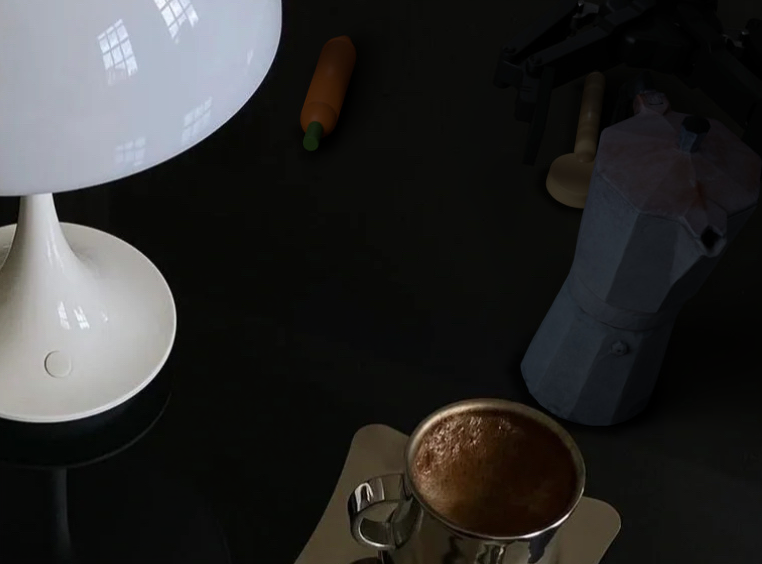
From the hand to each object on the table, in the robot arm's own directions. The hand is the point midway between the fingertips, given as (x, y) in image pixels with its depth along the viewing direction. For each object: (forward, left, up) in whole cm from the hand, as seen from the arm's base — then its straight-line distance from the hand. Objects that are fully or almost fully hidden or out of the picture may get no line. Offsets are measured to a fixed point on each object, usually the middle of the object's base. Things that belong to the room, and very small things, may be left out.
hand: (641, 167), depth 83 cm
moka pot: (0, +7, -11) cm, 13 cm away
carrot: (+22, -17, -11) cm, 30 cm away
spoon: (+2, -17, -11) cm, 20 cm away
